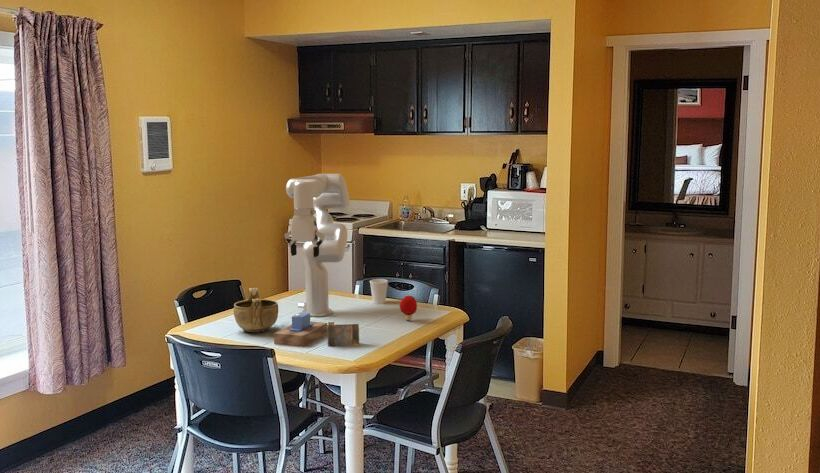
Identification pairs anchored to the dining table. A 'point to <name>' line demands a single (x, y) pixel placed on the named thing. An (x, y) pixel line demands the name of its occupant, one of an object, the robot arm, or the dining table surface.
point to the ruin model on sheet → (343, 334)
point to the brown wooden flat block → (300, 335)
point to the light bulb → (408, 306)
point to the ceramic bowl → (255, 312)
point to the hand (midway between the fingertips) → (304, 255)
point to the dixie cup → (378, 290)
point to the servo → (301, 322)
